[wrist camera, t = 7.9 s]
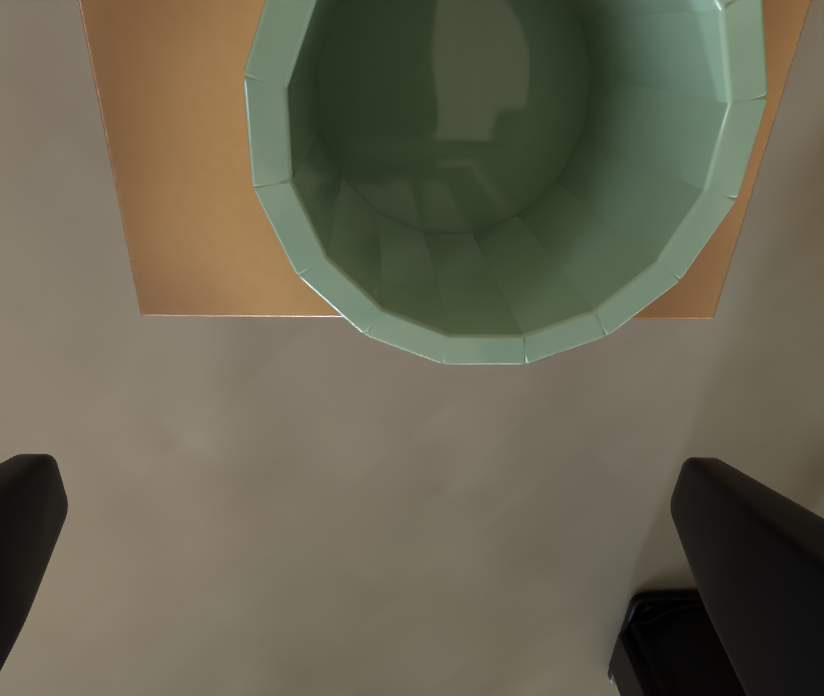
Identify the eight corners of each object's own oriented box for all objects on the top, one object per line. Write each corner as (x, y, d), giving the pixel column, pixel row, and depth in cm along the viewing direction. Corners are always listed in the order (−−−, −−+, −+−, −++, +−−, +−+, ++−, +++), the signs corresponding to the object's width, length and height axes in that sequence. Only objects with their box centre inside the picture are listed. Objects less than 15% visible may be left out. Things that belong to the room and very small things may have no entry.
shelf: (711, -130, 15) (877, -208, 10) (628, 249, 20) (714, 320, 15) (142, -167, 14) (20, -275, 9) (199, 243, 19) (139, 317, 14)
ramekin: (633, -81, 11) (853, -176, 6) (575, 247, 14) (688, 366, 9) (287, -102, 10) (213, -223, 5) (304, 243, 13) (267, 365, 8)
